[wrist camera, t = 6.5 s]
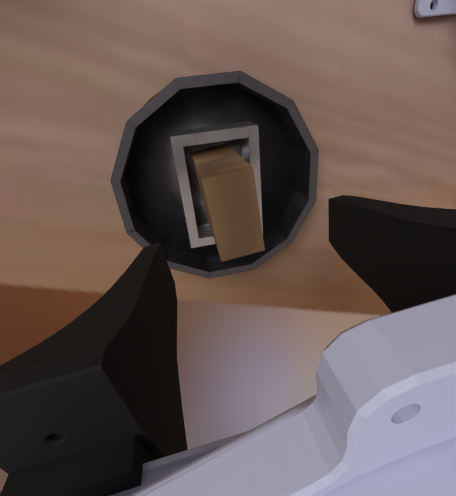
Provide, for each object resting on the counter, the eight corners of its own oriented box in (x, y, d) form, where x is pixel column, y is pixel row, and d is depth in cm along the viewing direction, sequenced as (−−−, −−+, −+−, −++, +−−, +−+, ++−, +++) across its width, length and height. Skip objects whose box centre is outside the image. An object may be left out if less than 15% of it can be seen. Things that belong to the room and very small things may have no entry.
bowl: (304, 63, 18) (324, 60, 15) (299, 242, 24) (312, 258, 22) (91, 87, 16) (80, 87, 14) (146, 271, 22) (144, 291, 20)
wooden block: (226, 143, 19) (252, 167, 13) (238, 206, 21) (264, 250, 15) (190, 152, 18) (201, 179, 13) (206, 215, 21) (221, 262, 15)
